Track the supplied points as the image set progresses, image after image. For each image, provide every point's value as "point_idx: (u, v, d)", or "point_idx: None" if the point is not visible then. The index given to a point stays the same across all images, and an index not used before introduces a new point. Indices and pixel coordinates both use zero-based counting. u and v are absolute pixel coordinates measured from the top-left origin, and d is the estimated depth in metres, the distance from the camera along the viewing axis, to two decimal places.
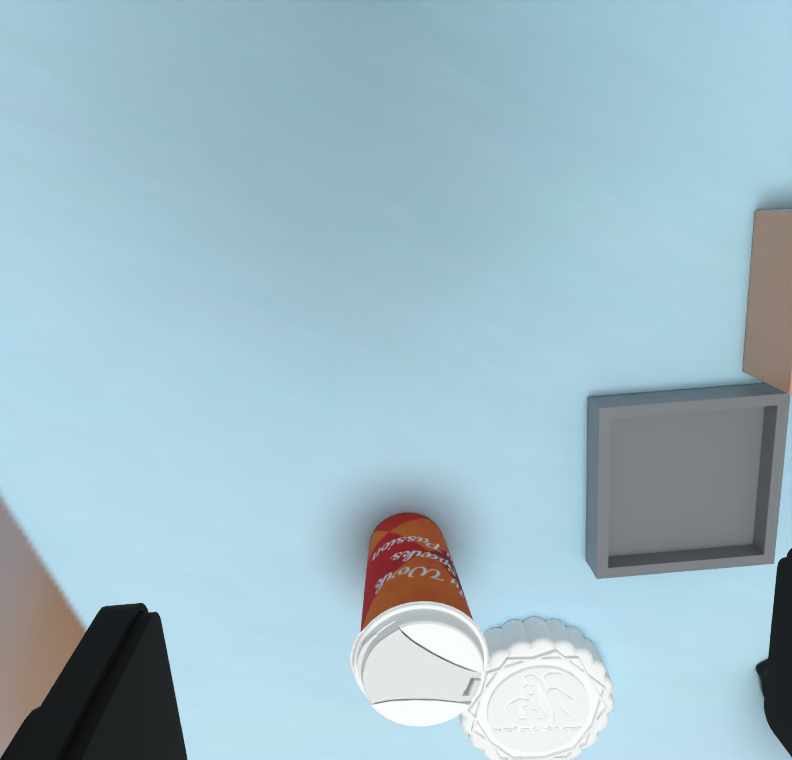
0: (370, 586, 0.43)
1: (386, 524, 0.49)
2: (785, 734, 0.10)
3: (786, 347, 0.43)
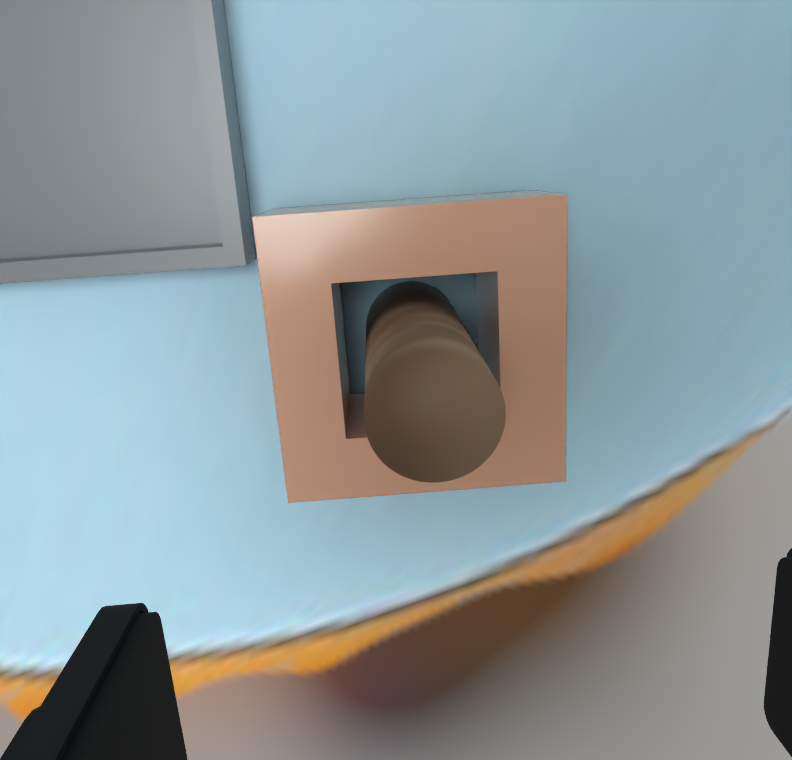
0: None
1: None
2: (785, 734, 0.10)
3: (335, 210, 0.25)
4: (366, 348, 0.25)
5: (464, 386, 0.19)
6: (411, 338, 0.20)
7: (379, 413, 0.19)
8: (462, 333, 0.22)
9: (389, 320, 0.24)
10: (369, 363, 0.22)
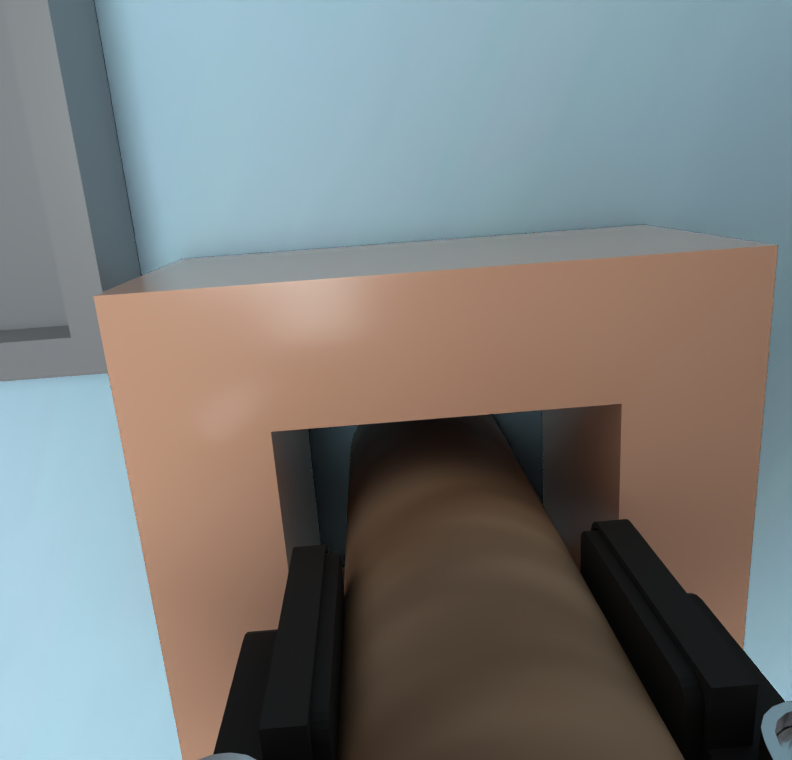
0: None
1: None
2: None
3: (280, 276, 0.12)
4: (346, 558, 0.12)
5: None
6: (462, 666, 0.07)
7: None
8: (573, 588, 0.09)
9: (395, 520, 0.11)
10: (349, 672, 0.09)
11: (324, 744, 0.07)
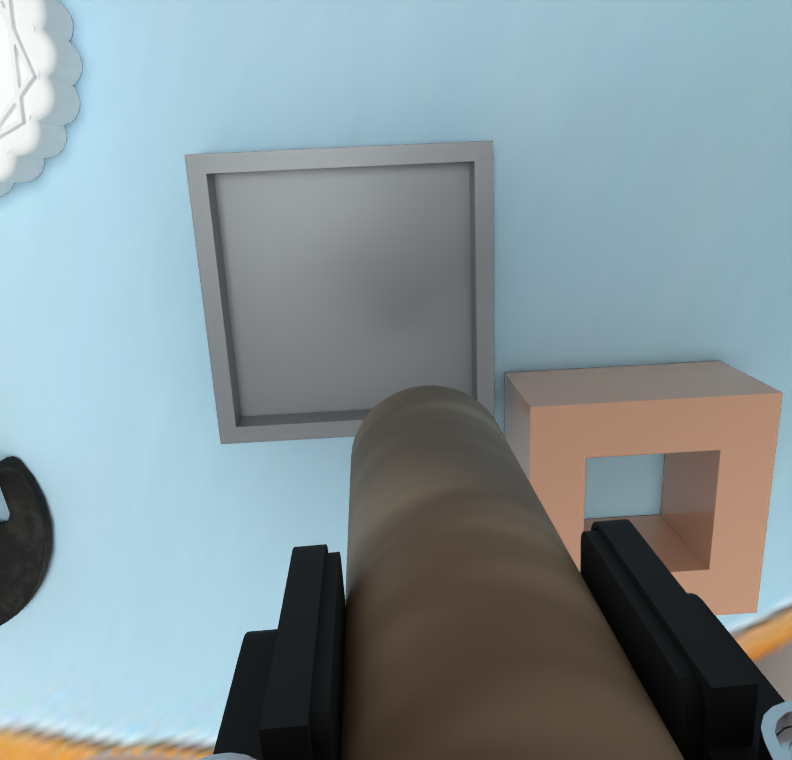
0: None
1: None
2: None
3: (590, 398, 0.30)
4: (348, 561, 0.12)
5: None
6: (465, 671, 0.07)
7: None
8: (575, 591, 0.09)
9: (396, 523, 0.11)
10: (351, 675, 0.09)
11: (324, 744, 0.07)
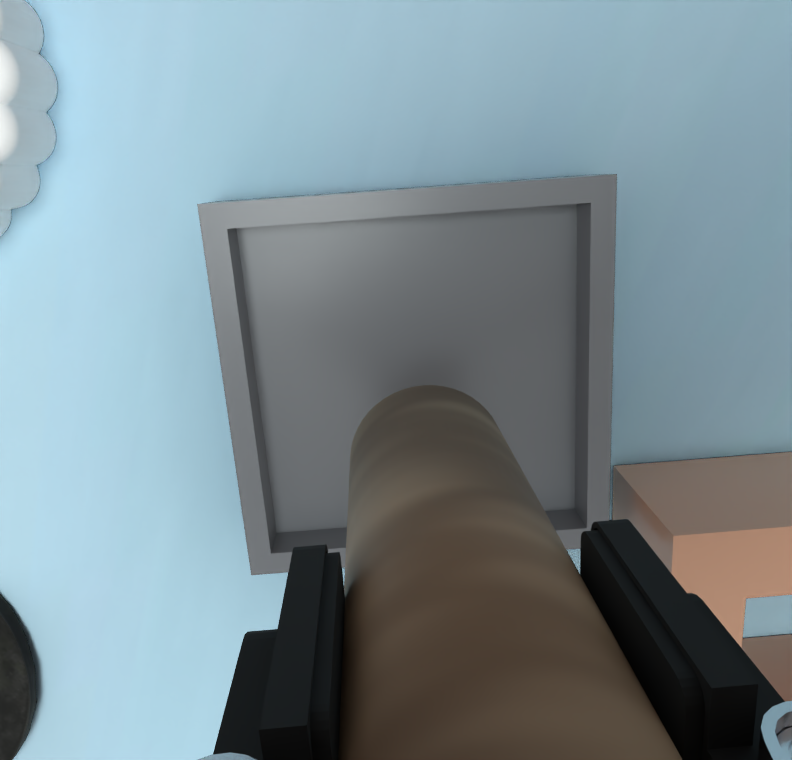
0: None
1: None
2: None
3: (750, 517, 0.22)
4: (346, 561, 0.12)
5: None
6: (463, 670, 0.07)
7: None
8: (573, 591, 0.09)
9: (395, 523, 0.11)
10: (349, 675, 0.09)
11: (324, 744, 0.07)
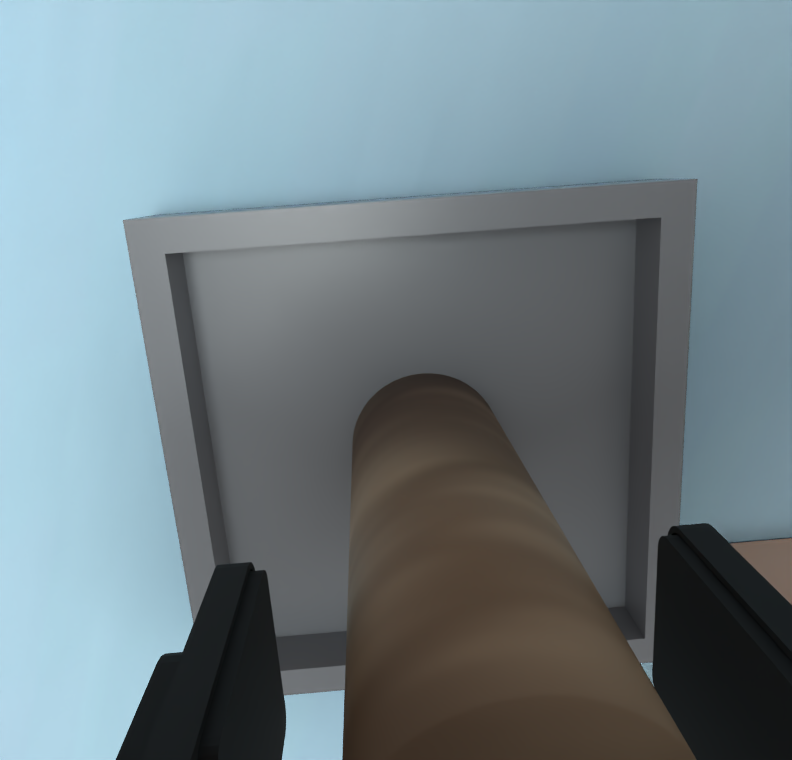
0: None
1: None
2: (666, 700, 0.11)
3: None
4: (351, 530, 0.13)
5: None
6: (458, 607, 0.08)
7: None
8: (559, 547, 0.10)
9: (396, 492, 0.12)
10: (355, 623, 0.10)
11: None
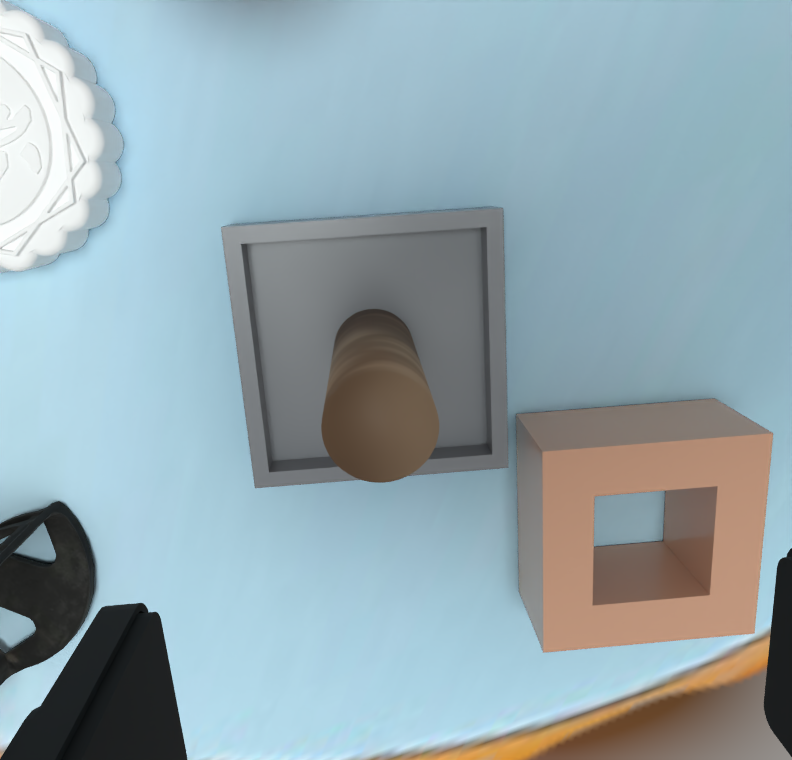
0: None
1: None
2: (785, 734, 0.10)
3: (597, 441, 0.33)
4: (330, 368, 0.29)
5: (403, 401, 0.23)
6: (362, 361, 0.24)
7: (334, 424, 0.23)
8: (408, 356, 0.26)
9: (348, 345, 0.28)
10: (329, 382, 0.26)
11: None
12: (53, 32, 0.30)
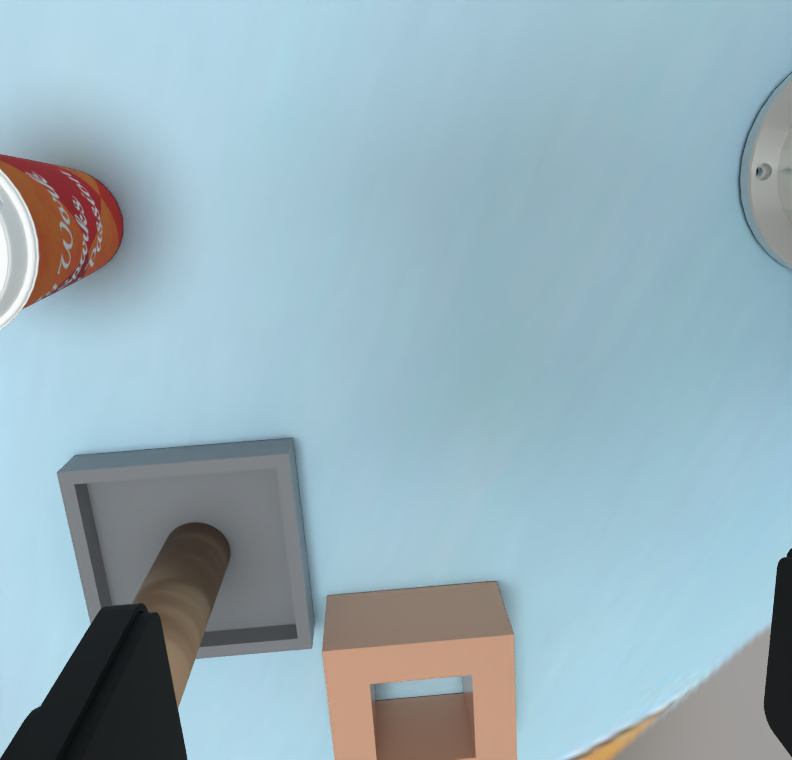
0: (29, 165, 0.29)
1: (106, 193, 0.36)
2: (785, 734, 0.10)
3: (372, 638, 0.40)
4: None
5: None
6: None
7: None
8: (178, 613, 0.33)
9: (142, 590, 0.35)
10: None
11: None
12: None
